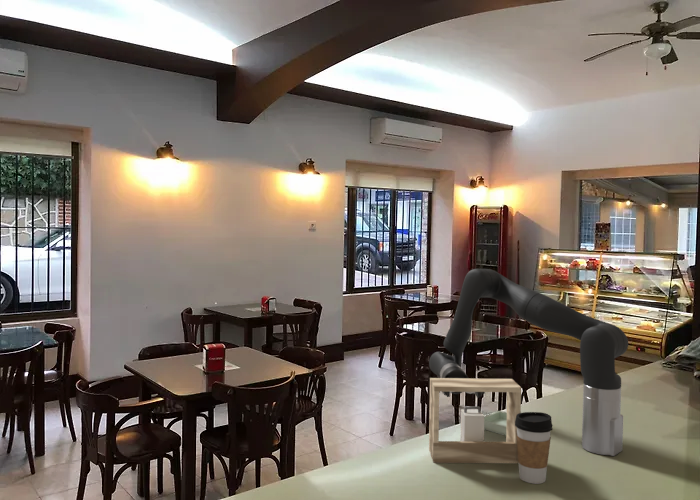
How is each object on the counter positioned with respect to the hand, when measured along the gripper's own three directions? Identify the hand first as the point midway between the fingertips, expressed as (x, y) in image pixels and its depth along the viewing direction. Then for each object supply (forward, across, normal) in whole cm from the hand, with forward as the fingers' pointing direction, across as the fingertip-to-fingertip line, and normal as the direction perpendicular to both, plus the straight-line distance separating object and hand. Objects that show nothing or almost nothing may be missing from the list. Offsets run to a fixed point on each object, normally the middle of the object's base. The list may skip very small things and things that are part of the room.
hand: (463, 393), depth 159 cm
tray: (-8, +14, +12) cm, 21 cm away
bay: (+13, 0, +12) cm, 18 cm away
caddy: (+12, 0, +12) cm, 17 cm away
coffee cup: (+26, +12, +12) cm, 31 cm away
